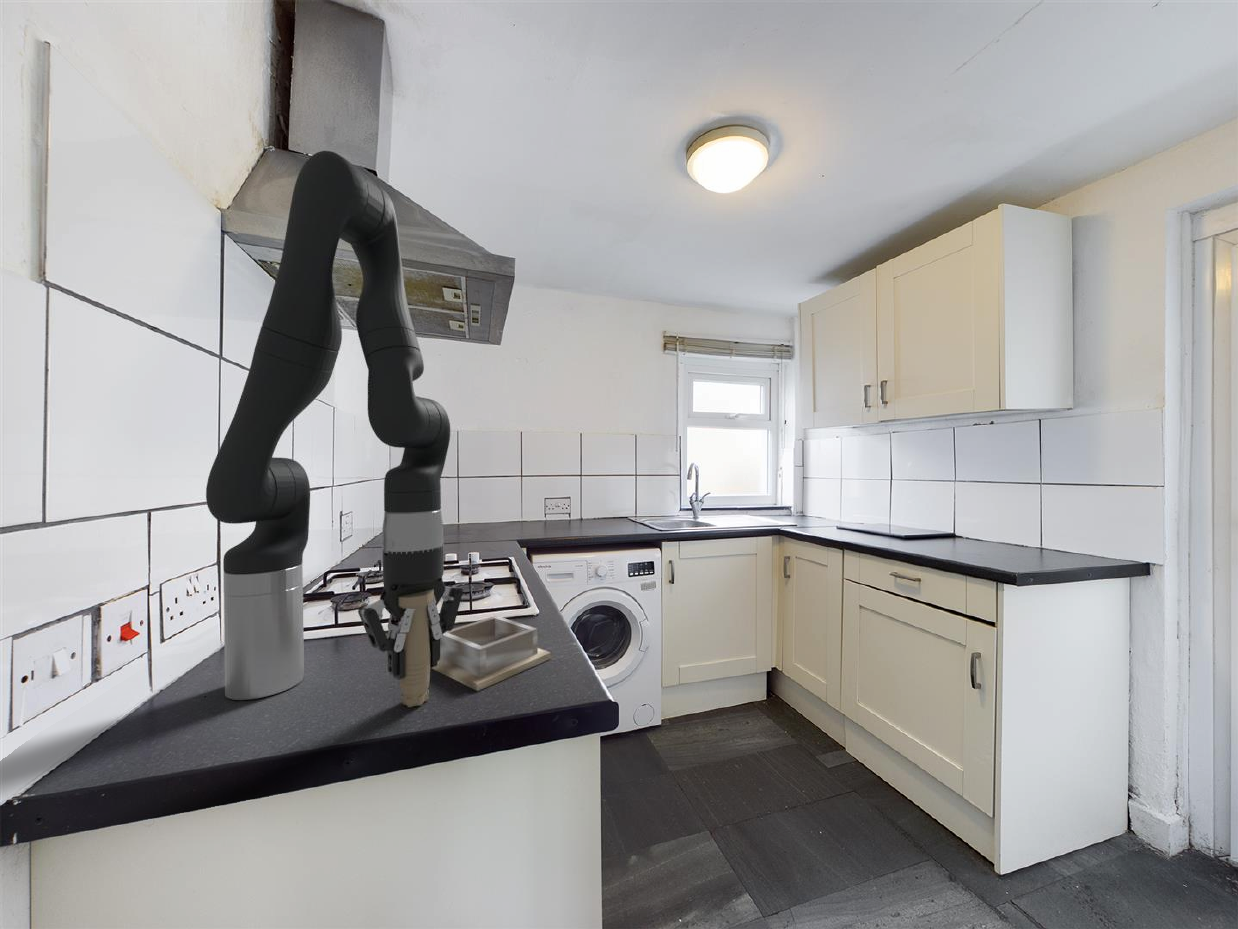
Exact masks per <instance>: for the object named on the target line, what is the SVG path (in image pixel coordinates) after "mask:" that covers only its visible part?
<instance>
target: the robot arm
mask: <svg viewBox="0 0 1238 929" xmlns="http://www.w3.org/2000/svg"><path fill="white" fill-rule="evenodd" d="M288 212H289V213H288V220H287V224H286V225H287V226H286V231H285V238H284V243H283V247H282V248H283V249H282V252H281V259H280V262H279V267H278V270H277V274H276V278H275V280H274V285H273V289H272V293H271V296H270V300H269V304H268V306H267V310H266V313H265V315H264V318H263V321H262V323H261V327H260V330H259V334H258V337H257V340H256V343H255V347H254V351H253V354H252V358H251V363H250V366H249V370H248V375H247V377H246V380H245V383H244V386H243V390H242V392H241V394H240V395H241V396H240V397H239V401H238V403H237V407H236V410H235V411H234V412H235V413H234V414H233V418H232V420H231V423H230V424H229V427H228V430H227V432H226V434H225V437H224V438H223V441H222V443H221V446H220V448H219V449H218V452H217V454H216V456H215V458H214V461H213V463H212V466H211V469H210V471H209V475H208V478H207V483H206V487H205V488H206V489H205V490H206V491H205V500H206V505H207V508H208V511H209V512H210V514H211V515H212V517H214V519H216V520H217V521H219V522H221V523H224V524H246V523H255V525H254V526H255V527H254V529H253V531H252V532H251V534H250V535H249V536H248V537H246V538H245V539H244V540H242V541H241V542H239V543H238V544H237V545H234V546H232V547H231V548H230V549H229V548H228V550H226V552H225V554H224V555H223V561H222V562H223V564H222V566H223V615H224V616H223V617H224V618H223V619H224V620H223V623H224V624H223V625H224V626H223V628H224V630H223V631H224V632H223V633H224V635H223V636H224V639H223V640H224V696H225V697H226V698H227V699H229V700H235V701H237V700H238V701H245V700H255V699H260V698H264V697H270V696H272V695H276V694H279V693H282V692H284V691H288V690H289V689H291V688H293V687H295V686H296V685H298V684H300V683H301V682H302V681H303V679H304V676H305V673H304V672H305V667H304V666H305V664H304V662H305V659H304V658H305V657H304V656H305V654H304V652H305V651H304V648H305V647H304V645H305V644H304V643H305V642H304V584H303V583H304V580H303V579H304V578H303V573H304V572H303V559H304V558H303V555H304V552H305V549H306V547H307V544H308V541H309V533H310V532H309V531H310V530H309V527H310V512H311V510H310V509H311V485H310V481H309V480H310V479H309V476H308V474H307V472H306V469H305V468H304V467H303V465H301V463H299V461H296V460H295V459H292V458H288V457H276V456H275V457H273V456H274V453H275V450H276V448H277V445H278V443H279V441H280V439H281V437H282V436H283V433H285V431H286V429H287V428H288V427H289V426H290V424H291V423H292V422H293V421H294V420H295V419H296V418H297V417H298V416H299V415H300V414H301V413H302V412H303V411H304V410H305V409H307V408H308V407H309V406H310V405H311V404H312V402H314V401H315V400H316V399H317V398H318V397H319V395H320V394H321V393H322V392H323V391H324V390H325V388H326V387H327V385H328V384H329V382H330V380H331V377H332V374H333V372H334V369H335V366H336V362H337V359H338V355H339V352H340V350H341V347H342V340H343V339H342V338H343V331H342V330H343V328H342V323H341V322H342V321H341V317H340V312H339V307H338V304H337V302H338V301H337V300H336V294H335V288H334V281H333V280H334V278H333V273H334V272H333V270H334V263H335V262H334V261H335V257H336V253H337V249H338V244H339V241H340V239H341V240H343V241H344V242H346V243H348V244H349V245H350V246H351V248H352V250H353V251H354V254H355V257H356V258H357V262H358V264H359V267H360V270H361V273H362V287H361V292H360V295H359V298H358V301H357V305H356V306H357V307H356V312H355V313H356V314H355V322H356V324H355V325H356V330H357V335H358V339H359V343H360V346H361V350H362V354H363V357H364V360H365V363H366V364H365V365H366V367H367V369H368V376H367V417H368V422H369V424H370V427H371V429H372V432H374V435H375V436H376V437H377V438H378V440H380V441H381V442H382V443H383V444H385V445H387V446H388V447H391V448H392V447H393V448H399V449H401V448H403V453H402V457H401V462H400V464H399V465H397V466H395V467H393V468H389V470H388V471H387V472H386V473H385V476H384V482H383V483H384V484H383V506H384V507H383V511H384V512H383V521H382V533H381V534H382V543H381V544H382V583H383V589H382V592H381V594H380V597H379V599H378V600H376V601H374V602H373V603H371V604H369V605H361V606H360V607H359V608H358V609H357V610H358V611H357V613H358V616H359V617H360V620H361V622H362V625H363V626H362V627H363V628H364V630H365V632H366V635H367V638H368V640H369V642H370V645H371V647H372V648H374V649H376V650H379V651H380V652H382V653H384V652H387V672H388V674H390V675H391V676H392V677H393V678H395V679H396V680H398V681H400V679H403V678H405V650H403V646H404V642H405V637H406V634H407V633H408V632H409V629H410V625H411V621H412V616H413V612H414V611H415V609H408V608H406V609H403V608H401V607H399V598H398V597H401V596H405V595H410V594H414V593H419V592H423V591H427V590H432V589H434V599H433V602H431V603H430V604H428V605H427V615H428V628H429V643H430V669H432V667H435V666H437V661H439V660H440V638H441V636H442V635H443V634H444V633H445V632H447V631H451V630H452V629H454V627H455V623H456V619H457V615H458V612H459V607H460V604H461V600H462V597H463V594H464V590H463V588H461V587H458V586H455V585H448V586H446V585H445V582H444V581H443V580H444V579H443V576H444V574H445V573H444V570H445V569H444V567H445V566H444V565H445V564H444V537H445V536H444V524H443V523H444V522H443V517H442V502H441V501H442V499H441V497H442V493H441V492H442V490H441V489H442V485H441V480H442V479H441V478H442V474H443V471H444V468H445V465H446V464H445V463H446V460H447V456H448V450H449V446H450V441H451V423H450V422H451V421H450V419H449V415H448V412H447V411H446V409H445V407H444V406H443V405H442V404H440V403H439V402H438V401H436V400H434V399H430V398H426V397H421V396H417V395H416V394H415V391H414V385H413V384H414V383H413V382H414V381H417V380H418V379H419V378H421V376H422V375H423V373H424V369H425V365H424V358H423V356H422V355H423V354H422V351H421V348H420V344H419V342H418V338H417V334H416V331H415V328H414V323H413V321H412V317H411V313H410V309H409V305H408V300H407V294H406V293H407V292H406V287H405V286H406V285H405V281H404V273H403V264H402V255H401V247H400V236H399V229H398V220H397V215H396V214H397V213H396V211H395V206H394V203H393V201H392V198H391V197H390V195H389V194H388V193H387V192H386V191H385V190H384V188H382V187H381V186H380V185H379V184H378V183H376V182H375V181H374V180H373V179H372V178H370V177H369V176H368V175H367V174H365V173H364V171H361V170H360V169H359V168H358V167H357V166H355V165H354V164H353V163H351V162H350V161H349V160H347V159H346V158H345V157H343V156H341V155H340V154H339V153H337V152H335V151H330V150H322V151H317V152H316V153H314V154H312V155H311V156H310V157H309V158H308V159H307V160H306V161H305V163H303V165H302V167H301V169H300V170H299V173H298V175H297V177H296V181H295V184H294V187H293V192H292V197H291V202H290V208H289V211H288ZM441 599H442V602H441V603H442V604H441V607H440V610H438V607H437V606H438V604H439V603H440V601H441ZM384 609H385V610H386V611H387V612H388V613H389V618H388V623H387V629H388V632H387V634H386V631H385V629H384V626H383V625H382V622H381V619H383V616H384V614H383V612H384Z"/></svg>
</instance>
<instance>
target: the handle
mask: <svg viewBox="0 0 1238 929" xmlns="http://www.w3.org/2000/svg"><path fill="white" fill-rule="evenodd" d="M398 598H399V607H401V608H403V609H406V608H408V609H415V611H414V612H413V616H412V621H411V625H410V629H409V632H408V633H407V634H406V637H405V642H404V646H403V650H405V678H403V679H400V680H399V681H400V682H399V684H400V692H401V696H400V697H401V702H402V704H403V705H405V706H407V708H413V707H417V706H422V705H423V704H424V702H426V701H427V700H428V699H429V695H430V689H428V688H429V686H430V680H431V668H430V643H429V628H428V615H427V605H428V604H430V603H431V602H433V599H434V589H432V590H427V591H423V592H419V593H414V594H410V595H405V596H401V597H398Z"/></svg>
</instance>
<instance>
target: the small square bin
mask: <svg viewBox="0 0 1238 929" xmlns="http://www.w3.org/2000/svg"><path fill="white" fill-rule="evenodd" d="M538 639H539V638H538V628H536V627H534V626H531V625H526V624H523V623H521V622H517V621H515V620H512V619H507V618H505V617H501V616H498V615H494V616H491V617H488V618H484V619H480V620H477V621H474V622H471V623H468V624H464V625H461V626H459V627H455V628H453V629H452V630H451V631H447V632H445V633H444V634H443V635H442V636H441V638H440V660H439V661H437V666H435V667H432V668H431V669H432V670H434V671H435V672H439V673H440V674H443V676H447V677H448V678H451V679H453V680H454V681H457V682H458V683H461V684H462V685H465V686H466V687H468V688H470V689H472V690H475V691H476V692H479V691H481V690H483V689H486V688H488V687H490V686H493V685H495V684H497V683H499V682H501V681H504V680H506V679H509V678H511V677H513V676H515V675H517V674H519V673H521V672H524V671H526V670H529V669H530V668H531V669H532V668H533V667H535V666H537V665H539V664H543V663H545V662H546V661H549V660H551V659H552V652H550V651H547V650H545V649H542V648H539V646H538V645H539V644H538Z"/></svg>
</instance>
